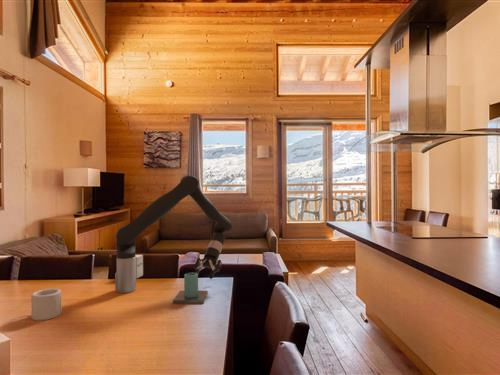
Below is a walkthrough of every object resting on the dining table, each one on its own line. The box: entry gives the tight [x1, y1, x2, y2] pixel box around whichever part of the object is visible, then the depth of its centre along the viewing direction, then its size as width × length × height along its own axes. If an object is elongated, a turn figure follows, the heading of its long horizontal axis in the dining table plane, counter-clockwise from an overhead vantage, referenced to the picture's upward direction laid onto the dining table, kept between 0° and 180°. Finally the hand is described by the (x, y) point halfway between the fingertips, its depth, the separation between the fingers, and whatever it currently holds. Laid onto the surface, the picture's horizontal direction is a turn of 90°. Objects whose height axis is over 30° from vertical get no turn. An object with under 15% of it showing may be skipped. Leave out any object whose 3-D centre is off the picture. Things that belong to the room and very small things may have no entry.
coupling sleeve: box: [183, 272, 199, 297], centre depth 159 cm, size 6×6×10 cm
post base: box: [172, 290, 209, 305], centre depth 159 cm, size 14×14×10 cm
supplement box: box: [136, 254, 144, 280], centre depth 199 cm, size 7×7×13 cm
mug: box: [30, 288, 63, 321], centre depth 140 cm, size 14×11×10 cm
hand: (203, 277), depth 169 cm, fingers open, 8 cm apart
